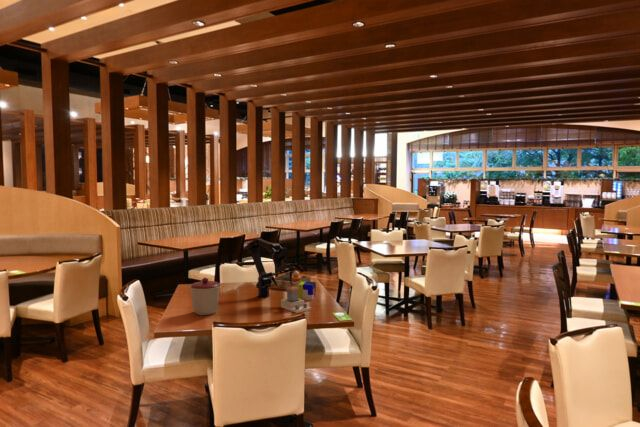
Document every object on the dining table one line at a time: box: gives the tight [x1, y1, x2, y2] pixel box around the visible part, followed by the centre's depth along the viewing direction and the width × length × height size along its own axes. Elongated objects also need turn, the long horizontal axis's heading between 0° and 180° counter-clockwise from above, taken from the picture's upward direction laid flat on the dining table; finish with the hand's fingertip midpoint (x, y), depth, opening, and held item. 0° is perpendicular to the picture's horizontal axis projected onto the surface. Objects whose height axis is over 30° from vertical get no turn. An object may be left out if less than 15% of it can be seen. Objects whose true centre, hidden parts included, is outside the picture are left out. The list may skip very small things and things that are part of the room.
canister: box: [188, 277, 222, 316], centre depth 261 cm, size 18×18×21 cm
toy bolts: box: [283, 268, 302, 282], centre depth 335 cm, size 18×17×12 cm
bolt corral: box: [269, 273, 312, 291], centre depth 333 cm, size 23×24×6 cm
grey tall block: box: [286, 286, 298, 302], centre depth 275 cm, size 5×5×11 cm
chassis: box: [280, 298, 312, 314], centre depth 273 cm, size 17×11×4 cm, turn 39°
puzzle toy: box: [298, 281, 317, 301], centre depth 299 cm, size 10×10×10 cm
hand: (284, 285), depth 284 cm, fingers open, 9 cm apart
